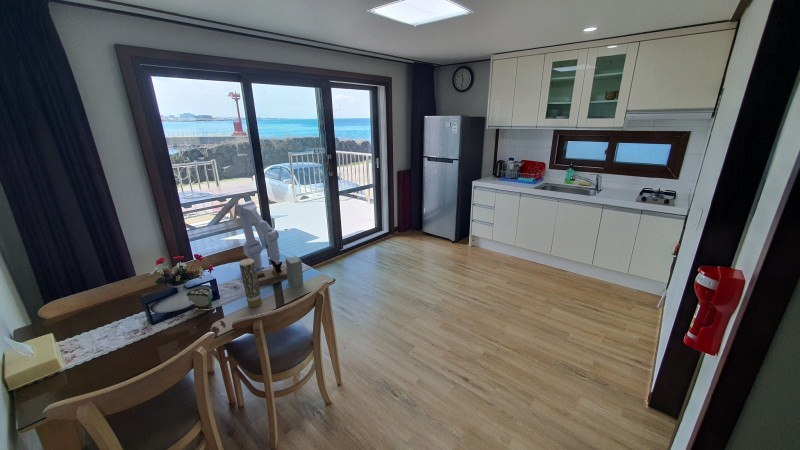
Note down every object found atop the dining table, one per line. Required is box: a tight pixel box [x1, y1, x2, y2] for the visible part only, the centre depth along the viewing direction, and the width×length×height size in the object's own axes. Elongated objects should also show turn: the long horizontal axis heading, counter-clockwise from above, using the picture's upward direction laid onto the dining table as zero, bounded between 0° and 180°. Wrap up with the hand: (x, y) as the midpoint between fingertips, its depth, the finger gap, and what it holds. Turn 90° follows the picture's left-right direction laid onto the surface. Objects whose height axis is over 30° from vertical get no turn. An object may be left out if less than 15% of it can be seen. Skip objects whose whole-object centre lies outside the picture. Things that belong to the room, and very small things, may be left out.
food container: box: [185, 287, 213, 310], centre depth 158 cm, size 12×6×10 cm, turn 84°
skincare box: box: [285, 255, 304, 288], centre depth 179 cm, size 8×7×16 cm
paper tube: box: [238, 258, 263, 308], centre depth 158 cm, size 7×7×25 cm
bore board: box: [256, 264, 287, 287], centre depth 187 cm, size 12×22×3 cm, turn 123°
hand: (276, 270), depth 188 cm, fingers open, 7 cm apart
